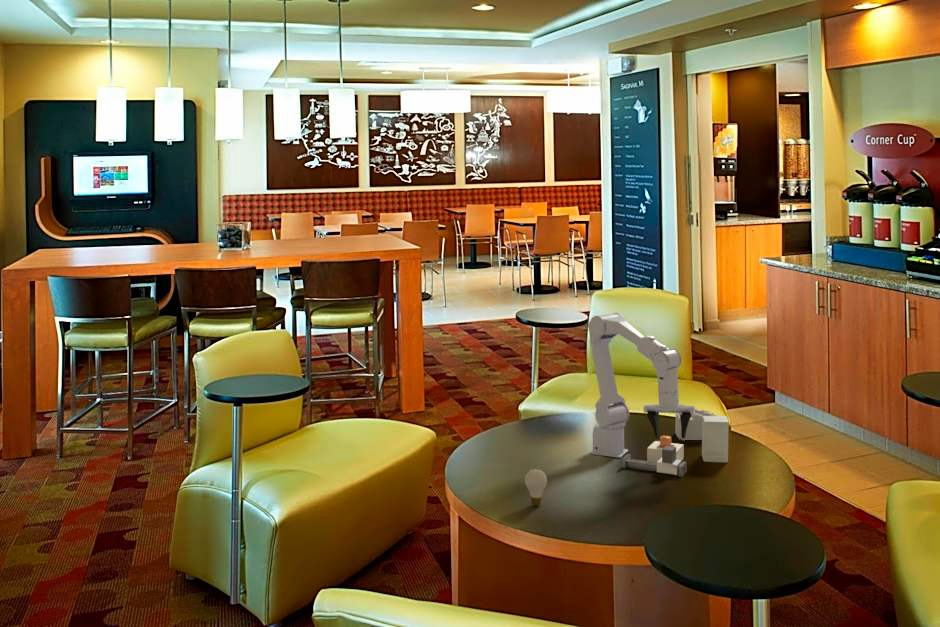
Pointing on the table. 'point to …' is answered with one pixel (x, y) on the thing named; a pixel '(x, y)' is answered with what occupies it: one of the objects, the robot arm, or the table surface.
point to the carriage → (668, 461)
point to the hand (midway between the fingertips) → (670, 437)
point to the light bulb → (535, 485)
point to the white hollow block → (656, 451)
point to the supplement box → (715, 438)
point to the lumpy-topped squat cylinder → (692, 425)
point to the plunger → (665, 441)
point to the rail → (649, 465)
